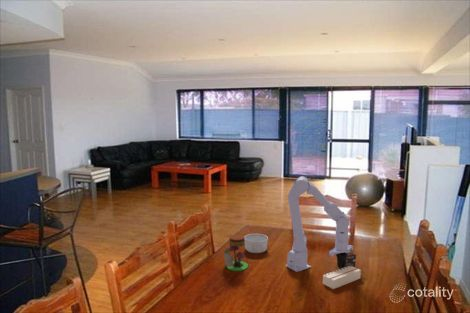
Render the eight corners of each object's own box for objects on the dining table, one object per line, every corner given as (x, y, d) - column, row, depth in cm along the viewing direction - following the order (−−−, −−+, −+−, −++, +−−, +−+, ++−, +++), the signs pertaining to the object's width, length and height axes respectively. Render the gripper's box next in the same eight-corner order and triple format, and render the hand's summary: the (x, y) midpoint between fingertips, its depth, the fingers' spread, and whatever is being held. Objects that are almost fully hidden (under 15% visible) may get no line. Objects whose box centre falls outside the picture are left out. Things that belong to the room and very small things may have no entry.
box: (344, 270, 180) (345, 256, 179) (337, 265, 186) (338, 251, 185) (355, 269, 182) (356, 255, 181) (347, 264, 188) (349, 250, 187)
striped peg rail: (333, 289, 163) (333, 279, 162) (322, 283, 168) (323, 274, 167) (360, 278, 173) (360, 269, 172) (349, 273, 178) (350, 265, 177)
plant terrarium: (243, 259, 195) (243, 231, 193) (252, 269, 183) (252, 239, 181) (221, 263, 191) (220, 234, 189) (229, 273, 179) (229, 242, 177)
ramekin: (261, 256, 199) (261, 243, 198) (239, 251, 206) (239, 238, 205) (272, 248, 210) (272, 236, 210) (251, 243, 217) (251, 231, 216)
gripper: (337, 245, 172) (336, 273, 174) (358, 238, 180) (357, 266, 182) (326, 240, 178) (325, 268, 180) (346, 234, 186) (346, 261, 188)
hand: (340, 267), depth 181 cm, fingers closed, pressing on box
